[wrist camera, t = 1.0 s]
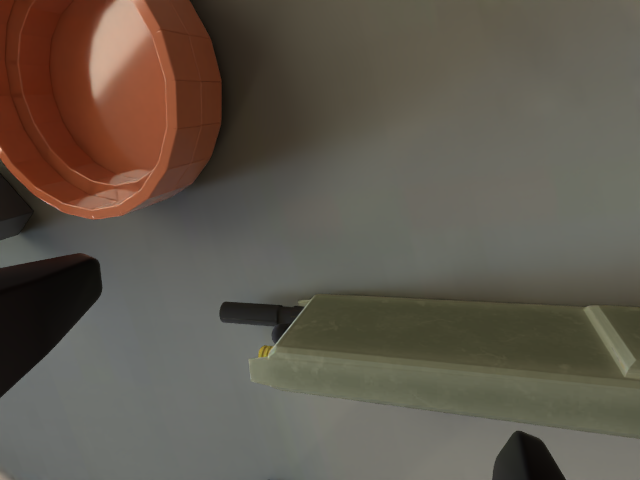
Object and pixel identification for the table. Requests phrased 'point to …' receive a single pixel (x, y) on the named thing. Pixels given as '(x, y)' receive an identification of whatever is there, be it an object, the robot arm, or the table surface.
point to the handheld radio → (458, 357)
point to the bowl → (106, 101)
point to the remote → (11, 211)
